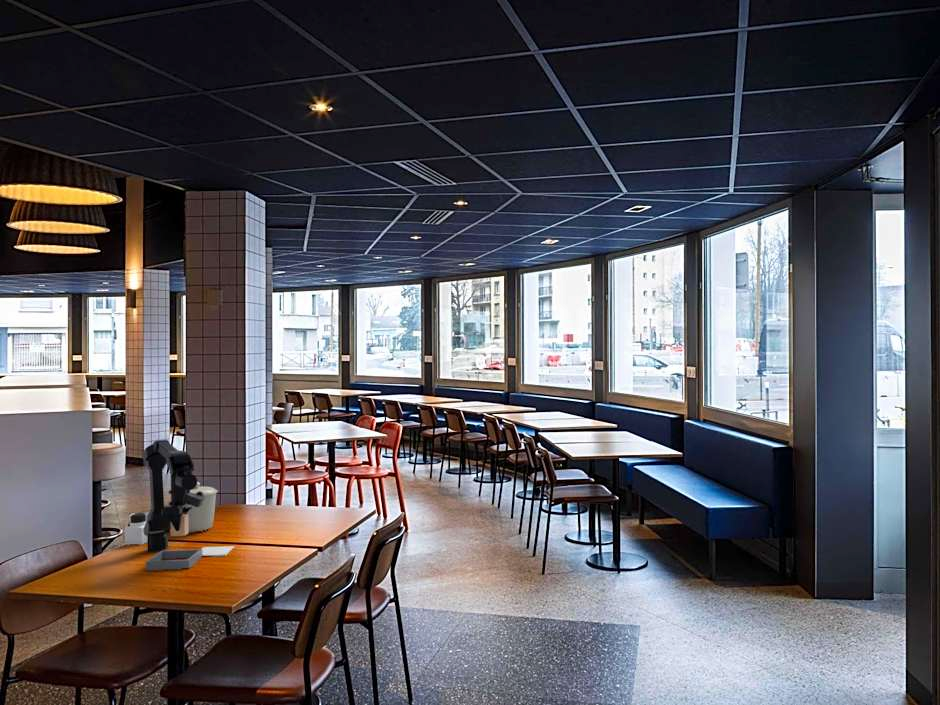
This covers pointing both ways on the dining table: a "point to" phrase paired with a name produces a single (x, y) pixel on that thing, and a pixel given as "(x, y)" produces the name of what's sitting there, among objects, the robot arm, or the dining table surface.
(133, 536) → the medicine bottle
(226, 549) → the white flat square slab
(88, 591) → the dining table surface
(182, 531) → the block
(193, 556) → the grey tray
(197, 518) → the canister
